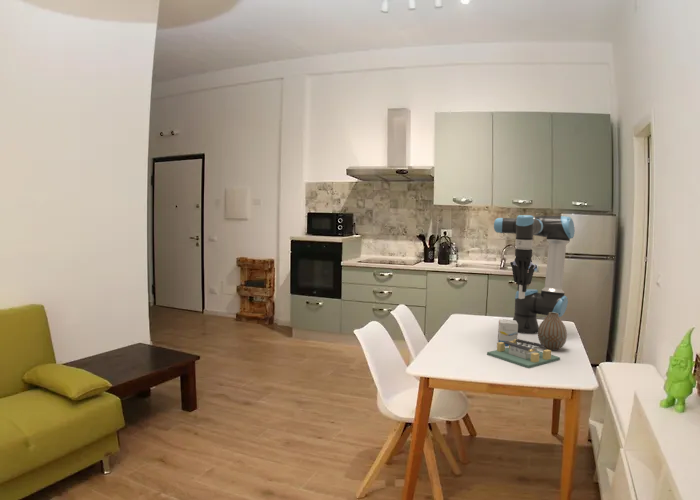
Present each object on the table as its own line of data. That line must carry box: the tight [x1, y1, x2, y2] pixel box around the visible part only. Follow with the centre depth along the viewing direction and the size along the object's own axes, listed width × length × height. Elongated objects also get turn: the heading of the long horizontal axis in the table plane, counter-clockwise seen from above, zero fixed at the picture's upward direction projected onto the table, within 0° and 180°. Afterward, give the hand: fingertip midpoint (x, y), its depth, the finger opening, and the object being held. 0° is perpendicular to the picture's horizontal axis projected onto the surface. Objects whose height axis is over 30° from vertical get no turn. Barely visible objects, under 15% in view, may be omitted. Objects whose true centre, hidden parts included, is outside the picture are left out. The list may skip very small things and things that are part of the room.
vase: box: [537, 312, 568, 351], centre depth 235 cm, size 13×13×18 cm
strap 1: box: [504, 341, 535, 352], centre depth 217 cm, size 3×14×1 cm, turn 34°
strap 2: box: [513, 338, 544, 348], centre depth 222 cm, size 3×14×1 cm, turn 34°
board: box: [486, 341, 561, 369], centre depth 219 cm, size 23×22×5 cm
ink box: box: [497, 318, 519, 347], centre depth 241 cm, size 8×8×12 cm
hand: (521, 298), depth 226 cm, fingers closed
